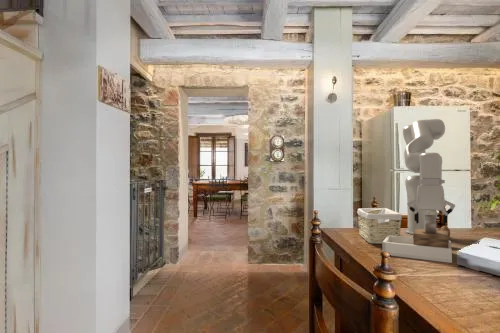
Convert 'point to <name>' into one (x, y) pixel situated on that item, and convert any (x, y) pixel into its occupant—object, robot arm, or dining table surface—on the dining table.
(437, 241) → the tan block with peg
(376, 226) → the storage basket
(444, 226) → the lion figurine
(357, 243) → the dining table surface
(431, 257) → the bay
